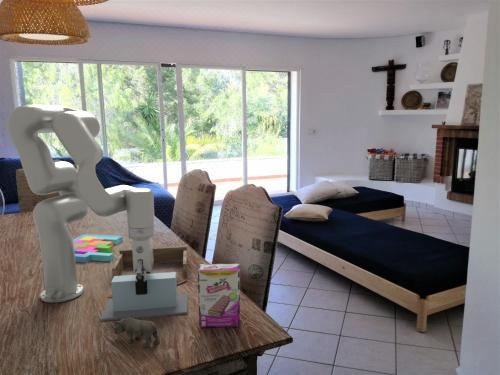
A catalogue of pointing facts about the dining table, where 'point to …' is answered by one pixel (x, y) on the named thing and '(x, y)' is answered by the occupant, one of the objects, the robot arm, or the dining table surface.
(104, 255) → the tetris game
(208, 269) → the candy bar box
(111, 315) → the mat
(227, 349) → the dining table surface
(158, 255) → the open wooden box
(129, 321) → the rhino figurine
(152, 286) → the pale blue rectangular block
